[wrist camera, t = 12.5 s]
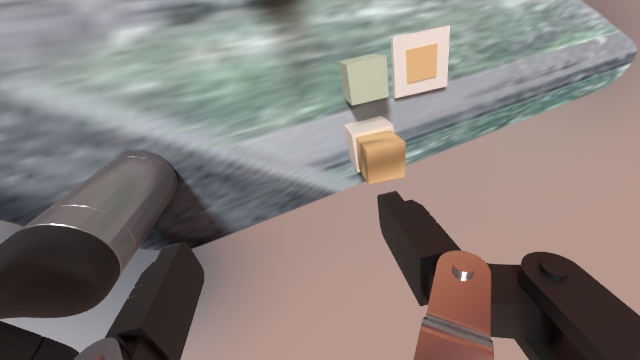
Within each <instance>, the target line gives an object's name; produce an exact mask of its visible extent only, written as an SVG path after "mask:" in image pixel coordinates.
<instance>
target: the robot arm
mask: <svg viewBox="0 0 640 360" xmlns="http://www.w3.org/2000/svg"><path fill="white" fill-rule="evenodd" d="M177 187H178V179H177V175H176V173H175V171H174V169H173V168H172V167H171V166H170V164H168V163H167V162H166V161H165V160H164V159H162V158H161V157H159V156H157V155H155V154H152V153H149V152H145V151H129V152H126V153H123V154H121V155H120V156H118V157H117V158H115V159H114V160H113V161H111V162H110V163H109V164H107V165H106V166H104V167H103V168H102V169H100V170H99V171H98V172H96V173H95V174H94V175H92V176H91V177H90V178H88V179H87V180H86V181H84V182H83V183H81V184H80V185H79V186H77V187H76V188H75V189H73V190H72V191H71V192H69V193H68V194H67V195H65V196H64V197H63V198H61V199H60V200H59V201H57V202H56V203H55V204H53V205H52V206H51V207H49V208H48V209H47V210H45V211H44V212H43V213H42V214H40V215H39V216H37V217H36V218H35V219H33V220H32V221H31V222H29V223H28V224H27V225H25V226H24V227H23V228H21V229H20V230H19V231H17V232H16V233H15V234H13V235H12V236H11V237H9V238H8V239H7V240H5V241H4V242H3V243H1V244H0V319H4V318H16V317H32V318H58V317H67V316H72V315H76V314H80V313H83V312H85V311H88V310H90V309H92V308H93V307H95V306H96V305H98V304H99V303H100V302H101V301H102V300H103V299H104V298H105V297H106V296H107V295H108V293H109V292H110V291H111V289H112V288H113V286H114V285H115V283H116V282H117V280H118V278H119V277H120V275H121V274H122V272H123V271H124V269H125V268H126V266H127V265H128V263H129V262H130V260H131V259H132V257H133V256H134V254H135V252H136V251H137V250H138V248H139V247H140V245H141V243H142V242H143V240H144V239H145V237H146V236H147V234H148V233H149V231H150V230H151V228H152V227H153V225H154V224H155V222H156V221H157V219H158V218H159V216H160V215H161V213H162V212H163V210H164V209H165V207H166V206H167V204H168V203H169V201H170V200H171V198H172V197H173V195H174V194H175V192H176V190H177ZM377 199H378V209H379V220H380V227H381V231H382V234H383V237H384V239H385V240H386V243H387V245H388V246H389V248H390V250H391V252H392V254H393V256H394V258H395V260H396V262H397V263H398V265H399V267H400V269H401V271H402V273H403V275H404V277H405V279H406V280H407V282H408V284H409V286H410V288H411V290H412V291H413V293H414V295H415V297H416V299H417V301H418V303H419V305H420V306H424V305H428V309H427V313H426V317H424V318H423V321H422V324H421V329H420V333H419V337H418V342H417V346H416V351H415V356H414V360H494V351H493V350H494V349H493V342H492V341H491V338H490V337H500V338H511V339H515V341H516V342H517V344H518V345H519V346H520V348H521V349H522V350H523V352H524V353H525V355H526V356H527V357H528V359H529V360H640V316H639V315H638V314H637V313H636V312H634V311H633V310H632V309H631V308H629V307H628V306H627V305H626V304H625V303H623V302H622V301H621V300H620V299H618V298H617V297H616V296H615V295H614V294H612V293H611V292H610V291H609V290H608V289H606V288H605V287H604V286H603V285H601V284H600V283H599V282H598V281H597V280H595V279H594V278H593V277H592V276H591V275H589V274H588V273H587V272H585V271H584V270H583V269H582V268H581V267H580V266H578V265H577V264H576V263H574V262H572V261H571V260H569V259H567V258H565V257H562V256H560V255H556V254H553V253H548V252H533V253H529V254H527V255H526V256H524V258H523V259H522V262H521V265H502V264H501V265H500V264H488V263H485V261H483V260H482V259H481V258H479V257H478V256H476V255H474V254H472V253H469V252H465V251H461V249H460V248H459V247H458V246H457V245H456V244H455V243H454V241H453V240H452V239H451V238H450V237H449V235H448V234H447V233H446V232H445V231H444V230H443V229H442V227H441V226H440V225H439V224H438V223H436V220H435V219H434V218H433V217H432V216H430V213H429V212H428V211H427V210H426V209H425V208H424V207H423V206H422V205H421V204H419V203H417V202H415V201H413V200H408V201H404V200H403V199H402V197H401V196H400V195H399V194H398V193H397V191H394V192H389V193H385V194H381V195H378V197H377ZM203 283H204V271H203V268H202V266H201V264H200V263H199V261H198V260H197V258H196V256H195V255H194V253H193V252H192V250H191V248H190V246H189V245H188V244H187V243H186V242H181V243H177V244H173V245H168V246H165V247H163V248H162V250H161V252H160V254H159V255H158V258H157V259H156V261H155V262H153V263H152V264H151V265H150V266H149V267H148V268H147V269H146V270H145V271H144V272H143V273H142V274H141V276H140V278H139V279H138V281H137V283H136V284H135V288H134V289H133V290H132V291H131V293H130V295H129V299H127V300H126V302H125V303H124V305H123V307H122V309H121V310H120V312H119V314H118V316H117V317H116V319H115V321H114V323H113V324H112V326H111V328H110V329H109V331H108V333H107V335H106V337H105V338H104V339H101V340H99V341H96V342H95V343H93V344H91V345H90V346H88V347H87V348H85V349H84V350H83V351H82V352H81V353H79V352H78V351H77V350H75V349H73V348H71V347H69V346H67V345H65V344H62V343H59V342H57V341H54V340H52V339H49V338H46V337H41V335H38V334H36V333H33V332H30V331H27V330H24V329H21V328H18V327H16V326H13V325H10V324H7V323H5V322H2V321H0V360H180V359H181V355H182V352H183V349H184V346H185V343H186V339H187V336H188V332H189V329H190V326H191V323H192V319H193V316H194V313H195V309H196V306H197V303H198V299H199V296H200V293H201V290H202V286H203Z"/></svg>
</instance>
